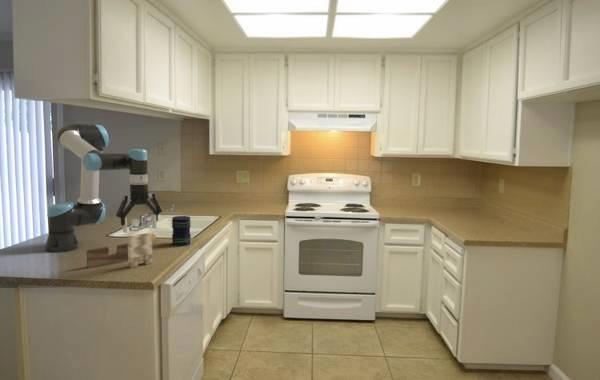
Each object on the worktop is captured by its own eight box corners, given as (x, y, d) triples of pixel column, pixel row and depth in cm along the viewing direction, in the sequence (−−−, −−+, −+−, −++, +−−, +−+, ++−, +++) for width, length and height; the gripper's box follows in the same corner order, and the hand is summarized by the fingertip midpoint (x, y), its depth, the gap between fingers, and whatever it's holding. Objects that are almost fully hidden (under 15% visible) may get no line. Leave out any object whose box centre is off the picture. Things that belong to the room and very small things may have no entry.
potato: (126, 249, 213) (125, 234, 212) (153, 245, 222) (152, 231, 221) (132, 253, 206) (132, 237, 205) (159, 249, 215) (159, 234, 214)
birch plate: (131, 267, 183) (130, 237, 181) (128, 266, 185) (127, 236, 183) (152, 263, 190) (151, 234, 188) (149, 262, 192) (148, 232, 190)
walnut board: (87, 267, 182) (86, 249, 181) (135, 258, 198) (135, 241, 197) (88, 268, 180) (88, 250, 180) (137, 258, 196) (136, 242, 195)
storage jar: (193, 242, 231) (193, 216, 229) (186, 246, 221) (186, 219, 219) (176, 241, 232) (176, 215, 230) (169, 245, 222) (168, 218, 220)
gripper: (114, 186, 171) (115, 235, 174) (168, 182, 189) (169, 227, 192) (106, 184, 176) (108, 232, 179) (160, 181, 194) (161, 225, 197)
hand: (140, 230), depth 185 cm, fingers open, 13 cm apart
